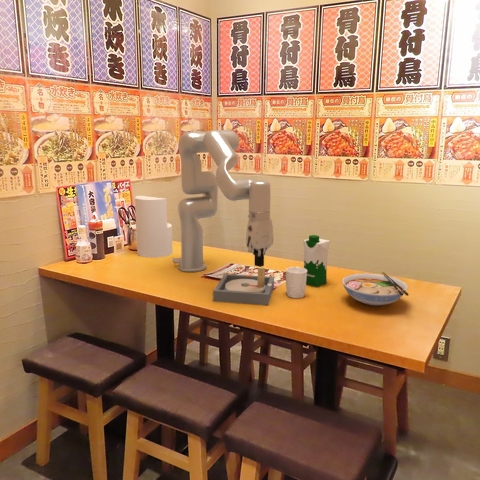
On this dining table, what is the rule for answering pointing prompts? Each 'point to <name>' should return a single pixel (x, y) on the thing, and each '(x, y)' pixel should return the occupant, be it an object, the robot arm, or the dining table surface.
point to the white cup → (296, 281)
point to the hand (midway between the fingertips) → (259, 265)
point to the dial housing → (242, 296)
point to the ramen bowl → (374, 288)
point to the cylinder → (152, 227)
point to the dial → (248, 283)
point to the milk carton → (316, 260)
